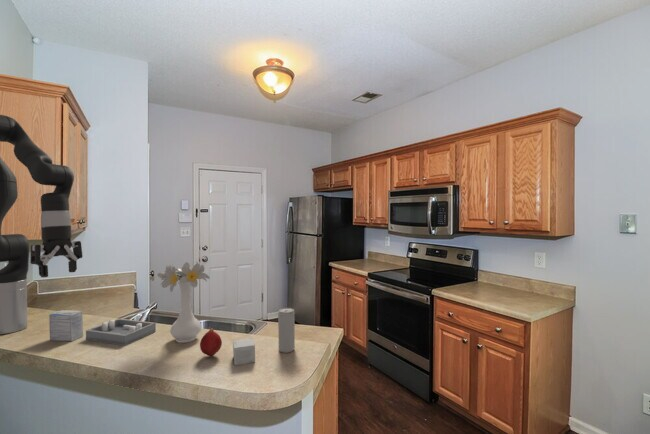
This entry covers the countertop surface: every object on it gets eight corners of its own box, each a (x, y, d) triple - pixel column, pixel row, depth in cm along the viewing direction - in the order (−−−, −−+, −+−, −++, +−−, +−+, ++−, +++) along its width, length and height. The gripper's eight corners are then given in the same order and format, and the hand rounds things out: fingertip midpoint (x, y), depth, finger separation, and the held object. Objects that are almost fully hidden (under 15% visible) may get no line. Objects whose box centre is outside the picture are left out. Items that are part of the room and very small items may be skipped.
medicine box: (83, 336, 107) (83, 310, 106) (71, 341, 102) (71, 314, 102) (61, 335, 107) (61, 309, 107) (49, 341, 103) (48, 314, 103)
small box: (233, 356, 92) (232, 339, 92) (253, 354, 94) (253, 337, 94) (233, 366, 87) (233, 347, 86) (255, 362, 88) (255, 345, 88)
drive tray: (85, 339, 104) (85, 327, 104) (119, 326, 115) (119, 315, 115) (125, 345, 99) (125, 332, 99) (155, 331, 111) (155, 320, 111)
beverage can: (297, 347, 98) (297, 308, 98) (290, 354, 93) (290, 313, 93) (282, 345, 99) (282, 307, 99) (275, 352, 95) (275, 311, 95)
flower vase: (177, 328, 113) (176, 258, 113) (220, 336, 107) (219, 261, 106) (144, 342, 101) (144, 263, 101) (191, 352, 95) (190, 267, 94)
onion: (201, 362, 88) (201, 333, 88) (198, 354, 93) (198, 327, 93) (223, 358, 91) (223, 330, 91) (219, 350, 96) (219, 323, 96)
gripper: (70, 224, 113) (72, 270, 113) (22, 226, 100) (25, 278, 100) (86, 223, 111) (88, 270, 111) (40, 225, 98) (42, 279, 98)
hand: (58, 274), depth 105 cm, fingers open, 8 cm apart
